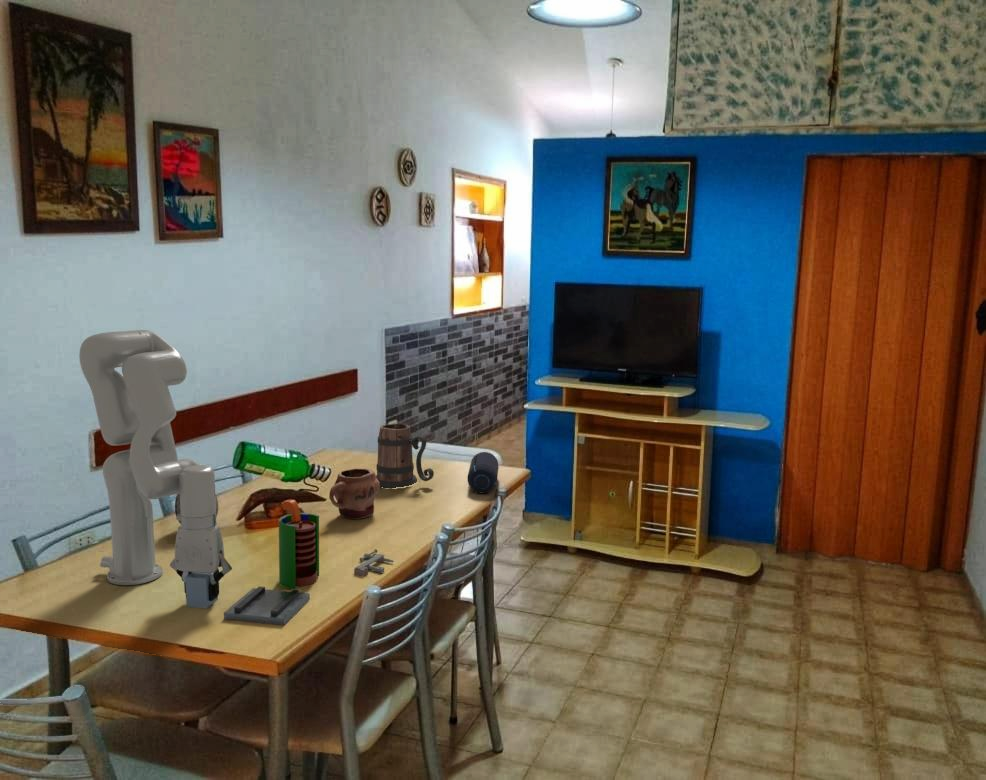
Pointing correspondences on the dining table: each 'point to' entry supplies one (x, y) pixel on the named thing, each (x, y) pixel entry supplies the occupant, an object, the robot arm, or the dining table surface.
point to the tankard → (399, 457)
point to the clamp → (365, 566)
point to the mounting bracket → (267, 606)
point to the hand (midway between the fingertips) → (202, 596)
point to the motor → (298, 547)
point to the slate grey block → (198, 590)
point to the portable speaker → (483, 472)
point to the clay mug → (355, 493)
